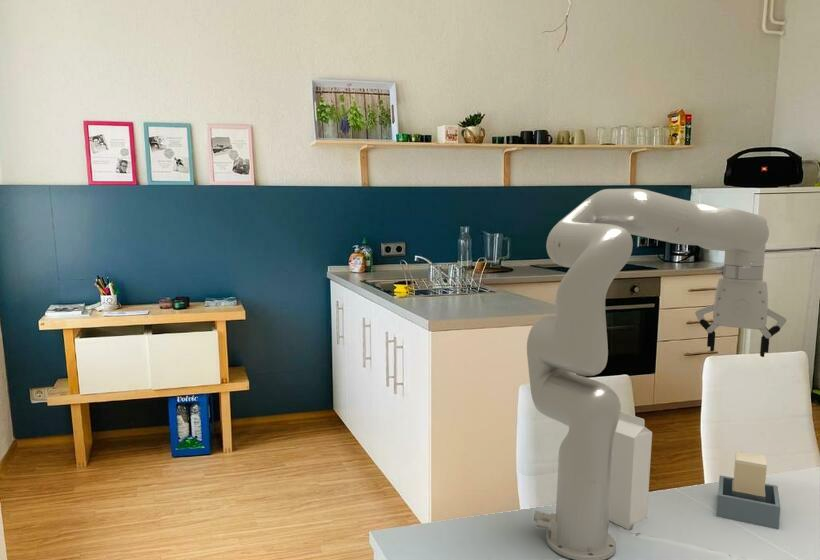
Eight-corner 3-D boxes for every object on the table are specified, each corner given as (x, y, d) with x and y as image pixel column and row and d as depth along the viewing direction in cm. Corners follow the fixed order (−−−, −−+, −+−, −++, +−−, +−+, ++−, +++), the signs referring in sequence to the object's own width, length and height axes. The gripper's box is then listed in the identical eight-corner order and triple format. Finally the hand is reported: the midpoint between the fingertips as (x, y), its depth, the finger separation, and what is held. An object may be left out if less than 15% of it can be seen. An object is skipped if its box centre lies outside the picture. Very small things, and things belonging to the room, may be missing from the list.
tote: (716, 521, 133) (718, 495, 132) (717, 499, 142) (719, 475, 142) (778, 534, 128) (780, 507, 127) (775, 510, 137) (777, 485, 137)
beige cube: (733, 490, 133) (735, 459, 132) (733, 480, 138) (735, 450, 137) (764, 496, 131) (766, 465, 130) (763, 485, 136) (765, 455, 135)
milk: (629, 530, 128) (635, 422, 125) (603, 518, 133) (609, 413, 130) (647, 521, 132) (653, 416, 129) (621, 510, 137) (627, 408, 134)
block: (730, 513, 134) (732, 490, 133) (730, 502, 139) (732, 479, 138) (763, 520, 131) (765, 497, 130) (762, 508, 136) (764, 485, 136)
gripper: (697, 272, 139) (691, 351, 141) (791, 278, 131) (784, 361, 133) (699, 269, 145) (694, 345, 147) (788, 274, 138) (781, 354, 140)
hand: (736, 352), depth 140 cm, fingers open, 9 cm apart
